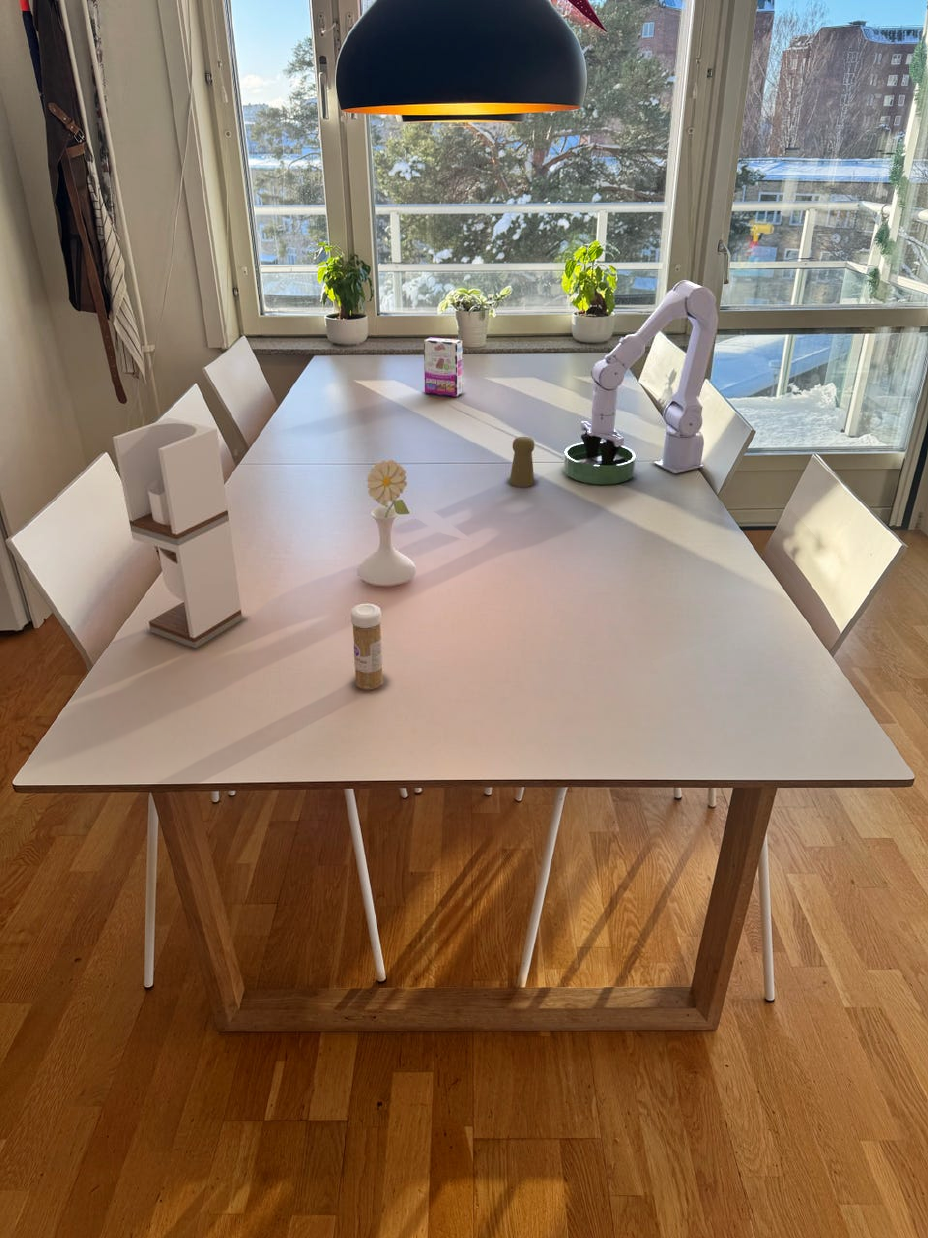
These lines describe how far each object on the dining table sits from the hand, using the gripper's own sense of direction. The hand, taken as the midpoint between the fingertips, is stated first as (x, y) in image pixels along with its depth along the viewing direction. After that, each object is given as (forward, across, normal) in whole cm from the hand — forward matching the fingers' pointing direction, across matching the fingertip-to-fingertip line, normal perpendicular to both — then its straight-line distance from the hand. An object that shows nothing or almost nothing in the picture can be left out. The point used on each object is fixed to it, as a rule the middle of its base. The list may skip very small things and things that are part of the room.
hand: (598, 465), depth 222 cm
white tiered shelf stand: (+2, +25, -107) cm, 110 cm away
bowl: (+2, 0, 0) cm, 2 cm away
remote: (+1, 0, 0) cm, 1 cm away
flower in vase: (+2, +26, -70) cm, 75 cm away
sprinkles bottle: (+2, +56, -88) cm, 104 cm away
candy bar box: (+2, -78, -1) cm, 78 cm away
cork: (+2, -4, -20) cm, 20 cm away
